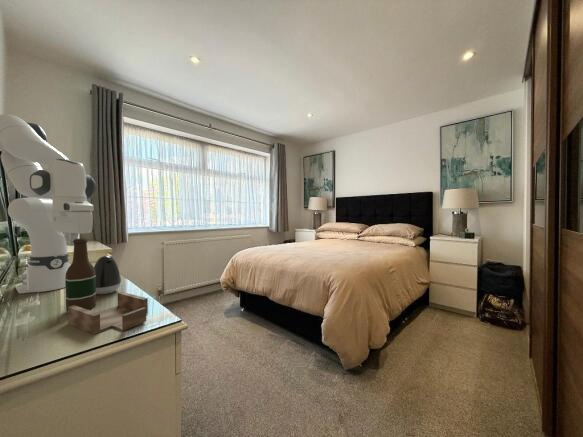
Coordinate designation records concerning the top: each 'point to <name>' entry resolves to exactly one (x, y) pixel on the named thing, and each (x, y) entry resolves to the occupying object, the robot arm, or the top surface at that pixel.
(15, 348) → the top surface
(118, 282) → the dark grey oval piece
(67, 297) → the beer bottle
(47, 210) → the robot arm
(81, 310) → the u rest
